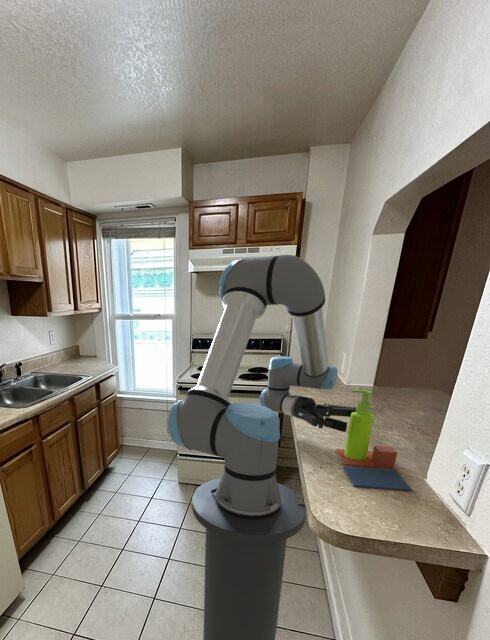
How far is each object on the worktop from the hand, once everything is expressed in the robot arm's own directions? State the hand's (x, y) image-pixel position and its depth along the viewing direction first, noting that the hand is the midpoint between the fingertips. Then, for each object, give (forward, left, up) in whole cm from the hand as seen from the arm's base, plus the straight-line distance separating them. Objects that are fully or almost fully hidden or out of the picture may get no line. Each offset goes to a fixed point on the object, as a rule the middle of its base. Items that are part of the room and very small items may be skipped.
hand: (360, 423), depth 103 cm
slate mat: (+2, -14, -11) cm, 18 cm away
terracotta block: (+6, -4, -10) cm, 13 cm away
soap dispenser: (0, 0, -11) cm, 11 cm away
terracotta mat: (+2, -1, -11) cm, 11 cm away
